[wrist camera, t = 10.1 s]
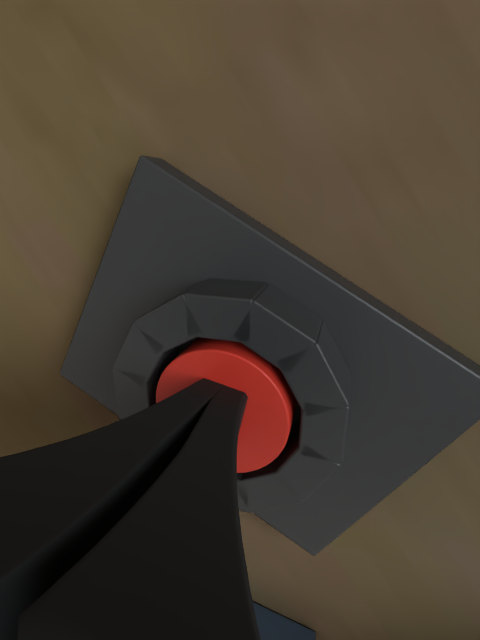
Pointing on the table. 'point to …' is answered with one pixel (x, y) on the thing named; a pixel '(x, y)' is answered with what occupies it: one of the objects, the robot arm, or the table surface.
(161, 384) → the button
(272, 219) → the table surface
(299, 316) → the button block
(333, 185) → the table surface
